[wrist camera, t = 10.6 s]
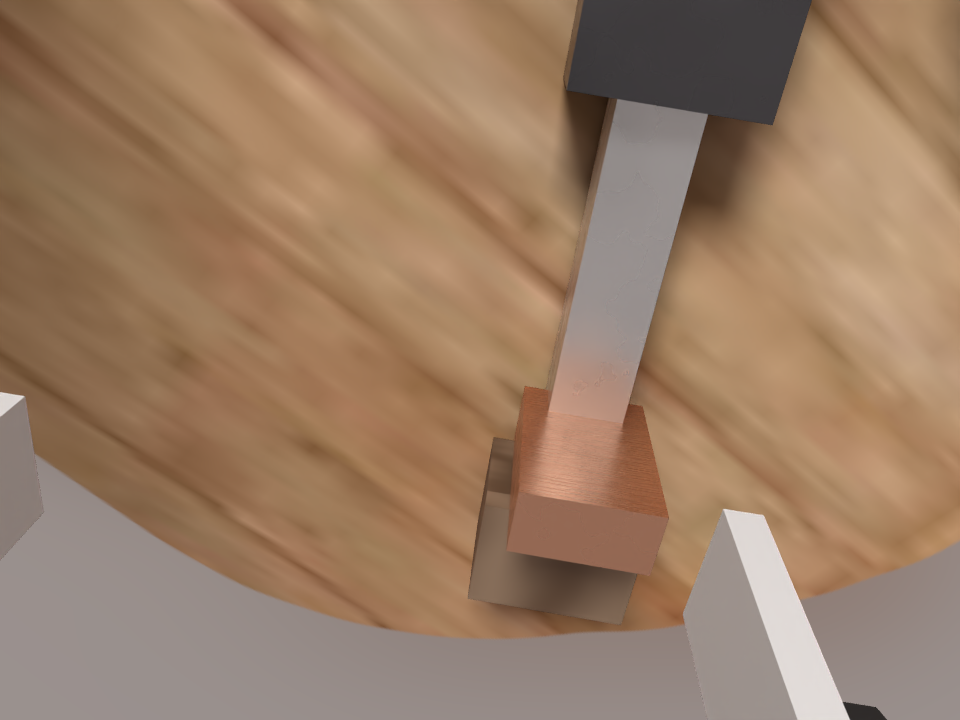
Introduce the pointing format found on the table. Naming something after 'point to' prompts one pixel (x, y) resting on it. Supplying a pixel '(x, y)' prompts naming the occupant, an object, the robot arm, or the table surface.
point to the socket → (536, 562)
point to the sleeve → (687, 53)
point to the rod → (605, 357)
